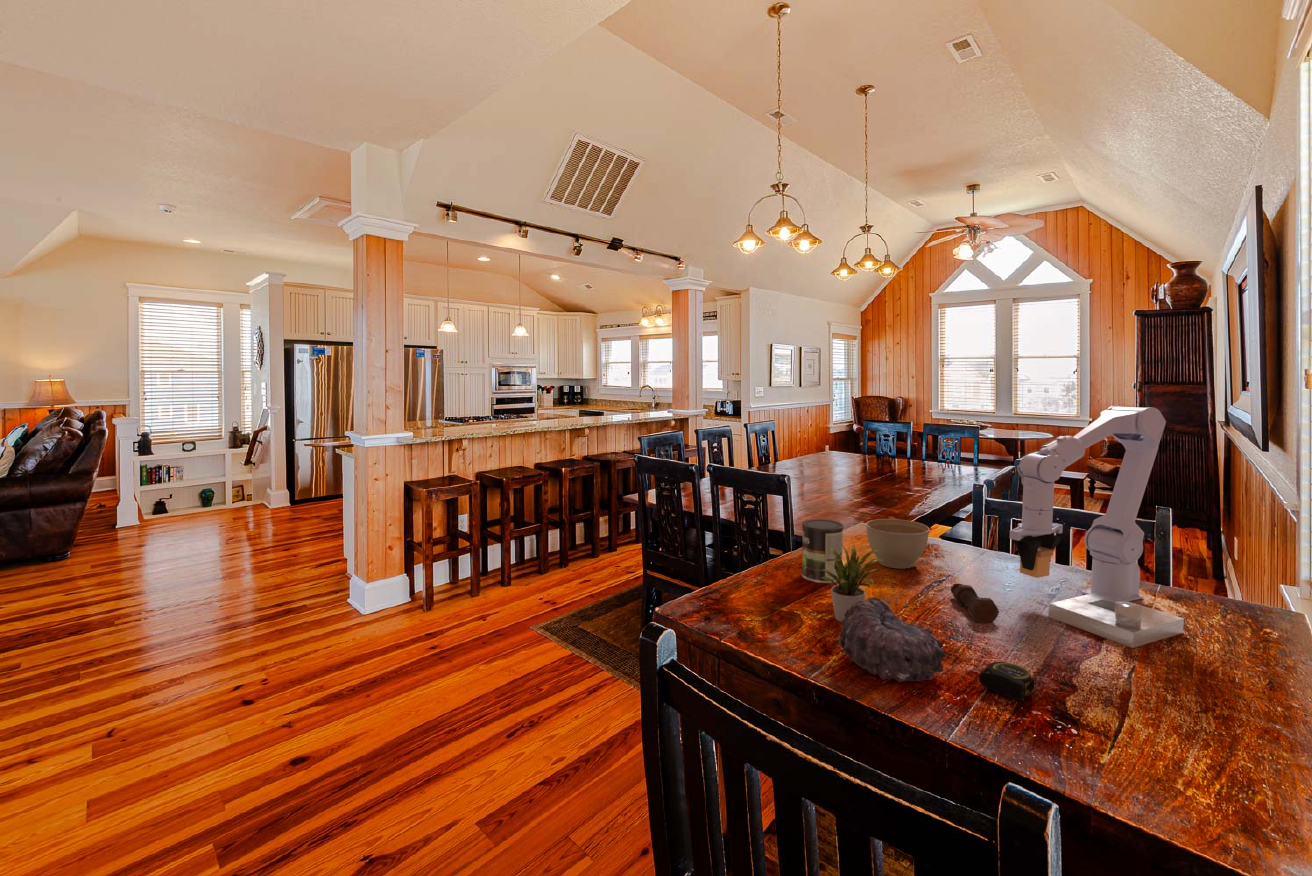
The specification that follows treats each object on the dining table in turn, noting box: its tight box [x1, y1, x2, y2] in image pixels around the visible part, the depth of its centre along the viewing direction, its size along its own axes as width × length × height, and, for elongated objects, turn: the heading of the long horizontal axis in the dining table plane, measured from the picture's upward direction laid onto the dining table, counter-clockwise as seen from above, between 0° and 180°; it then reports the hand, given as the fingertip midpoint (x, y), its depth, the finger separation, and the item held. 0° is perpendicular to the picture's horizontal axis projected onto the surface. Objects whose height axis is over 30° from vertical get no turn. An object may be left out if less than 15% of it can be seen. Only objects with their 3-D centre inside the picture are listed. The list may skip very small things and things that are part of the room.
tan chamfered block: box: [1019, 546, 1054, 579], centre depth 132 cm, size 4×5×6 cm
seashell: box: [838, 596, 946, 683], centre depth 105 cm, size 19×13×15 cm
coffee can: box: [801, 518, 844, 584], centre depth 152 cm, size 10×10×14 cm
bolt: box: [950, 583, 1000, 624], centre depth 130 cm, size 6×5×15 cm
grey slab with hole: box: [1048, 592, 1185, 649], centre depth 121 cm, size 16×16×7 cm
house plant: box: [816, 543, 885, 623], centre depth 125 cm, size 14×14×16 cm
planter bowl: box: [865, 518, 930, 570], centre depth 162 cm, size 16×16×11 cm
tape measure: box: [978, 661, 1036, 702], centre depth 96 cm, size 7×7×4 cm
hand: (1034, 567), depth 132 cm, fingers closed on tan chamfered block, 4 cm apart
